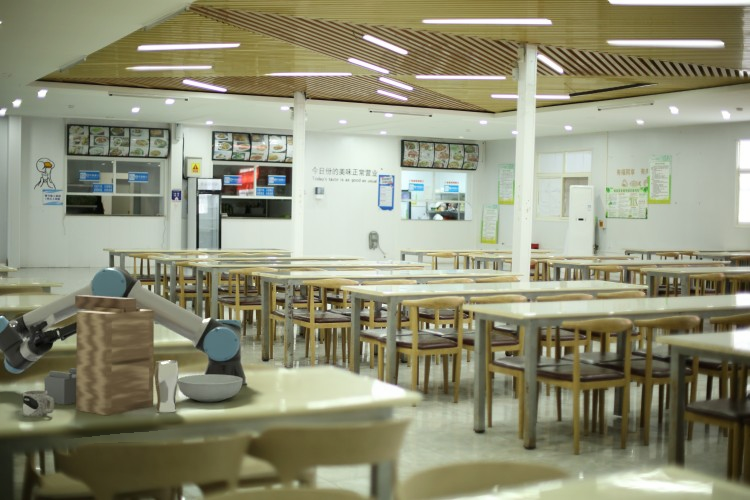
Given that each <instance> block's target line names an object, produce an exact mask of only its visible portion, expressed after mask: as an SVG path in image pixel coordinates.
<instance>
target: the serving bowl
mask: <svg viewBox="0 0 750 500" xmlns="http://www.w3.org/2000/svg"><path fill="white" fill-rule="evenodd" d="M242 382H243V379H242V378H241V377H237V376H231V375H214V374H208V375H204V374H194V375H186V376H181V377H178V384H177V387H178V390H179V391H180V393H182V395H184V397H186V398H188V399H191V400H196V401H197V402H202V403H206V402H207V403H213V402H221V401H224V400H227V399H230V398H233V397H234V396H236V395H237V394H238V393H239V392H240V390H241V388H242V386H243V385H242Z"/></svg>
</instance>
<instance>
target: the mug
mask: <svg viewBox="0 0 750 500" xmlns="http://www.w3.org/2000/svg"><path fill="white" fill-rule="evenodd" d="M22 395H23V396H22V401H23V402H22V403H23V404H22V408H23V409H22V416H23V417H25V418H27V417H28V418H37V417H38V418H39V417H45V416H47V415H48V414H52V413H53V412H54V410H55V409H54V408H55V403H54V400H53V398H52V397H50V396H47V391H45V390H39V389H38V390H37V389H36V390H28V391H24V392H23V393H22ZM47 400H49V401H50V402H49V409H48V402H47Z"/></svg>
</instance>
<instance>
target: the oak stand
mask: <svg viewBox="0 0 750 500" xmlns="http://www.w3.org/2000/svg"><path fill="white" fill-rule="evenodd" d="M76 322H77V333H76V355H75V356H76V359H75V360H76V403H75V404H76V406H75V407H76V408H75V410H76V411H79V412H80V411H81V412H86V413H92V414H96V415H101V416H102V415H103V416H111V415H115V414H120V413H125V412H131V411H135V410H140V409H146V408H150V407H154V381H155V367H154V363H155V362H154V354H155V353H154V350H155V348H154V347H155V346H154V345H155V340H154V338H155V337H154V336H155V329H154V328H155V322H154V310H145V309H140V308H136V312H124V309H114V308H101V307H92V310H89V309H88V310H84V311H77V314H76Z"/></svg>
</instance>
